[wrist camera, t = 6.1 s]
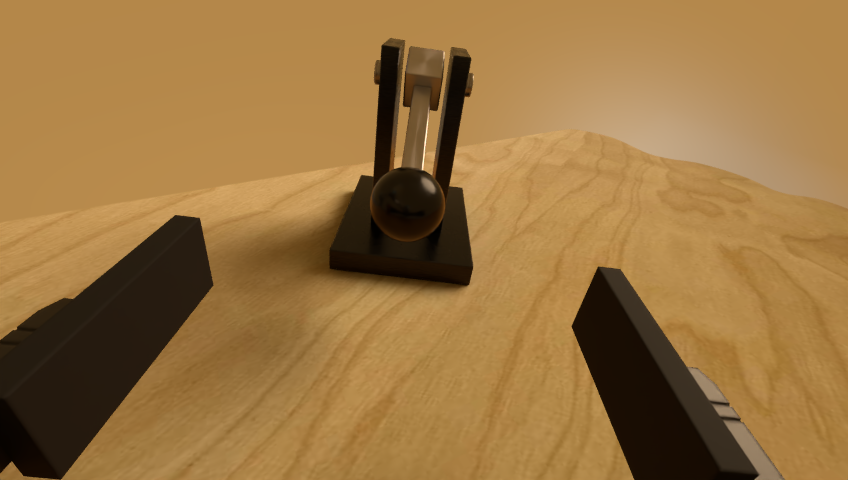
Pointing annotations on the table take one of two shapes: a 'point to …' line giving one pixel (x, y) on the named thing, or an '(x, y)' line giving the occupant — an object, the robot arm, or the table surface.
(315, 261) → the table surface
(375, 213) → the lever
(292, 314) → the table surface
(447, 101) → the bracket
